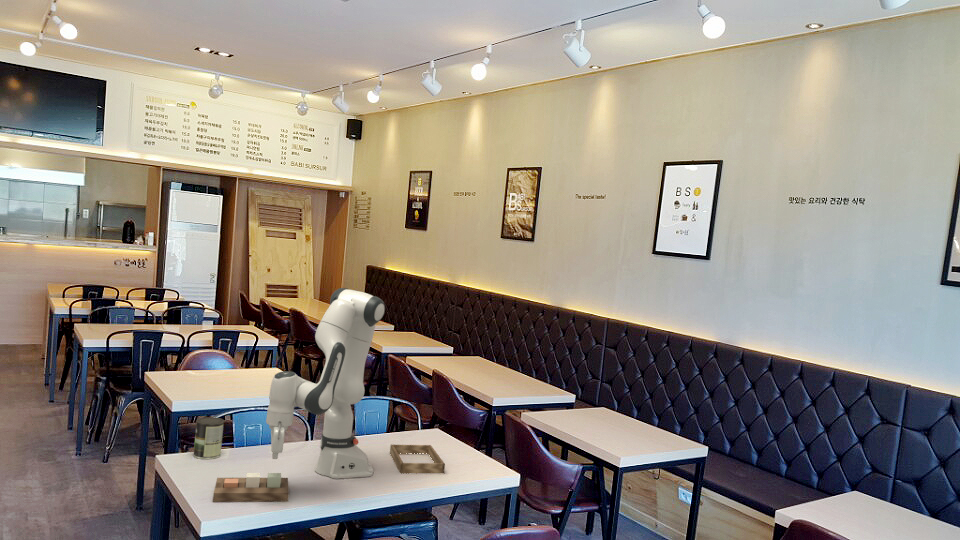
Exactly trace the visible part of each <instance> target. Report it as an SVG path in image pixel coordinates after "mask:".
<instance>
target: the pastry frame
mask: <svg viewBox="0 0 960 540" xmlns="http://www.w3.org/2000/svg"><path fill="white" fill-rule="evenodd" d="M400 453H401V454H400ZM406 453H407V454H406ZM408 453H412V454H414V453H415V454H417V453H418V454H419V453H421V454H422V453H424V454H426V453H427V454H429V455H430V457H431V458H432V459H431V458H430V457H429V458H430V459H431V461H432V460H433V461H434V462H433V461H432V462H403V460H402V458H401V456H400V455H409V454H408ZM390 454H391V455H390ZM389 455H390V457H391V456H392V457H391V458H393V459H392V460H394V461H393V462H395V463H394V464H395V467H396V468H397V470H398V473H401V474H400V475H402V473H403V474H404V473H406V474H407V473H408V474H409V473H416V475H417V473H444V474H445V467H446V464H445V462H444V461H443V459H442V458H441V457H440V454H438V453H437V451H436V450H435V449H434V447H433V446H432V445H431V444H390V447H389ZM429 455H428V456H429ZM408 474H407V475H408Z"/></svg>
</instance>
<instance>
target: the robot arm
mask: <svg viewBox="0 0 960 540" xmlns="http://www.w3.org/2000/svg"><path fill="white" fill-rule="evenodd" d="M385 312H386V305H385V302H384V300H382V299H381V298H380V297H378V296H376V295H375V296H374V295H372V294H370V293H366V292H363V291H358V290H354V289H349V288H347V287H341V288H337V289H336V290H335V291H334V292H333V293H332V294H331V296H330V301H329V307H328V308H327V309H326V311H325V313H324V315H323V316H322V318H321V319H320V321H319V324H318V326H317V328H316V330H315V335H314V338H315V339H314V340H315V342H316V344H317V346H318V348H319V349H320V350H321V351H322V352H323V354H324V356H325V363H324V366H323V370H322V373H321V376H320V378H319V380H318V382H317V383H314V382H312V381H309V380H307V379H304V378H302V377H300V376H298V374H296V372H294V371H290V370H288V371H287V370H286V371H284V370H283V371H280V372H277V373H275V374H274V375H273V377H272V380H271V384H270V388H269V395H268V397H269V404H268V405H267V406H268V407H267V412H266V420H265V424H267V425H269V426H268V428H269V429H270V438H271V439H270V440H271V441H270V443H271V445H270V446H271V449H270V451H271V453H272V454H271V457H272V460H277V459H279V454H281V453H283V451H284V444H285V443H284V441H285V435H286V432H285V431H287V430H288V429H289V426H292V425H293V423H294V422H293V421H294V420H293V419H294V412H295V408H296V407H298V408H300V409H303V410H305V411H307V412H309V413H311V414H313V415H315V416H320V415H323V414H324V419H323V427H322V428H323V429H322V430H323V431H322V434H321V438H320V445H319V447H320V452H319V457H318V461H317V463H316V467H315V468H314V471H315V472H316V474H319V475H322V476H325V477H329V478H331V479H339V480H340V479H351V478H352V479H353V478H364V477H365V478H366V477H368V478H369V477H371V476H373V475H374V468H373V466H372V465H371V464H369V458H368V455H367V454H366V452H364V451H363V450H362V448H360V447H359V446H357V445H358V444H359V443H360V442H359V439H358V438H357V437H356V436H354V435H353V424H354V414H353V410H352V406H351V405H356V404H358V403H359V402H361V401H362V400H363V398H364V395H365V391H366V390H365V385H364V374H365V366H366V361H367V357H368V354H369V350H370V347H371V345H372V342H373V339H374V334H375V328H376V324H378V323H380V321H381V320H382V318H383V317H384V315H385Z"/></svg>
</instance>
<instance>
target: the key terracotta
mask: <svg viewBox="0 0 960 540" xmlns="http://www.w3.org/2000/svg"><path fill="white" fill-rule="evenodd" d="M224 488H238V479H225V481H224Z"/></svg>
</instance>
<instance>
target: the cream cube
mask: <svg viewBox="0 0 960 540" xmlns="http://www.w3.org/2000/svg"><path fill="white" fill-rule="evenodd" d="M245 478H246V488H259V482H260V478H261V473H260V472H247V473H246V477H245Z"/></svg>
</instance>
